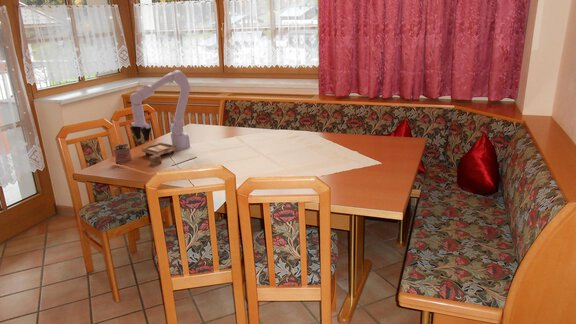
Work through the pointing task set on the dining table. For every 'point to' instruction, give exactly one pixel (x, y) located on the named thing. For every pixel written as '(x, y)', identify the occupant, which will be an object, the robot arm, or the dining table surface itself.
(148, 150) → the tray
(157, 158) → the block
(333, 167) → the dining table surface
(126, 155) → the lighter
